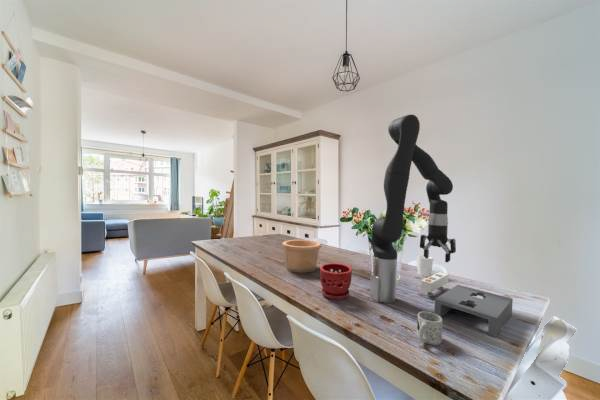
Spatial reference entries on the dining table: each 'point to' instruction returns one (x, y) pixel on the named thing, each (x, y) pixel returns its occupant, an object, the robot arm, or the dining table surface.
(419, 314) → the mug
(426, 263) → the white cup
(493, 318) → the keyhole board
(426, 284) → the power strip
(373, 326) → the dining table surface
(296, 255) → the pottery
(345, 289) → the plant pot
